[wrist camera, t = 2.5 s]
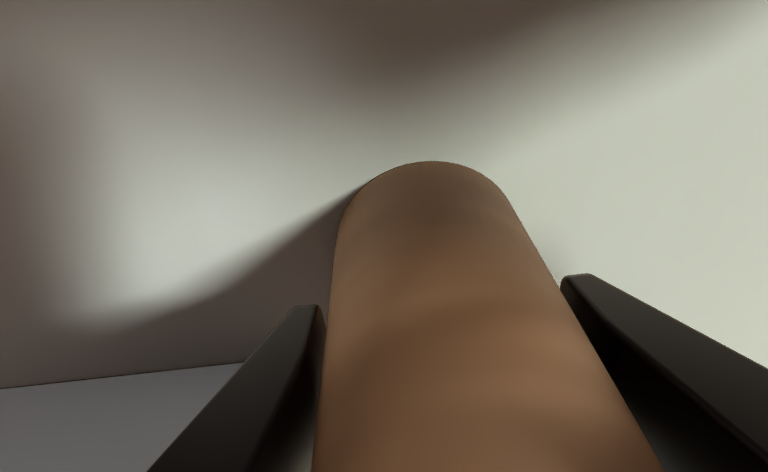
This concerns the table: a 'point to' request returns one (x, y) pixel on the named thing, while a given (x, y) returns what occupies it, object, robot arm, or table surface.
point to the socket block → (102, 420)
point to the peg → (458, 342)
